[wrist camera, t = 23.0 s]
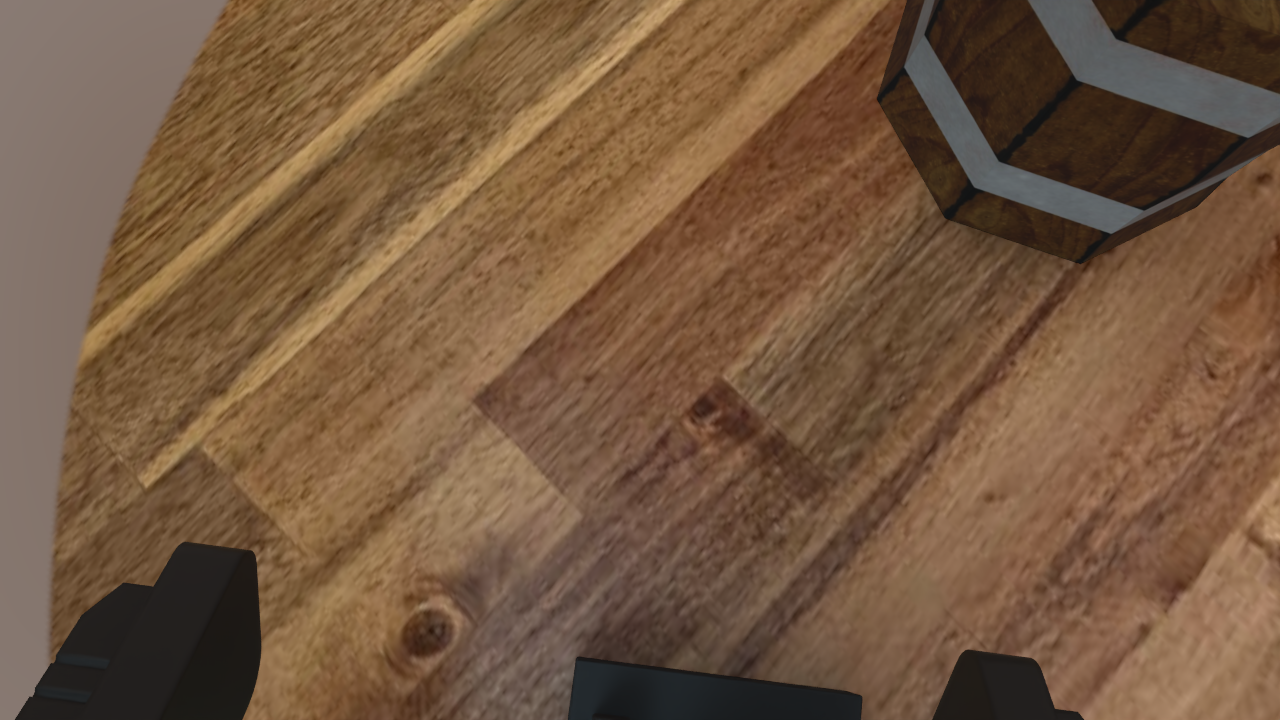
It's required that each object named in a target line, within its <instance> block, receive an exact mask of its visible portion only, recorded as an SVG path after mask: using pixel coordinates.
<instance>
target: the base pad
mask: <svg viewBox="0 0 1280 720" xmlns="http://www.w3.org/2000/svg"><path fill="white" fill-rule="evenodd" d="M861 710H862V696H861V695H858V694H854V693H851V692H847V691H842V690H834V689H826V688H818V687H810V686H803V685H795V684H787V683H779V682H772V681H764V680H756V679H748V678H740V677H733V676H725V675H717V674H709V673H701V672H694V671H686V670H678V669H670V668H662V667H655V666H647V665H639V664H631V663H623V662H616V661H608V660H600V659H592V658H584V657H577V658H576V663H575V670H574V678H573V685H572V692H571V700H570V707H569V715H568V720H861Z"/></svg>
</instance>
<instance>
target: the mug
mask: <svg viewBox="0 0 1280 720" xmlns="http://www.w3.org/2000/svg"><path fill="white" fill-rule="evenodd" d="M877 100H878V101H879V103H880V105H881V107H882V108H883V110H884V112H885V114H886V115H887V117H888V119H889V121H890V122H891V124H892V126H893V128H894V129H895V131H896V133H897V135H898V136H899V138H900V140H901V142H902V143H903V145H904V147H905V149H906V150H907V152H908V154H909V156H910V157H911V159H912V161H913V162H914V164H915V166H916V168H917V169H918V171H919V173H920V175H921V176H922V178H923V180H924V182H925V183H926V185H927V187H928V189H929V190H930V192H931V194H932V196H933V197H934V199H935V201H936V203H937V204H938V206H939V208H940V210H941V211H942V213H943V215H944V217H945V218H947V219H950V220H953V221H955V222H958V223H961V224H964V225H967V226H970V227H973V228H976V229H979V230H982V231H985V232H988V233H991V234H994V235H997V236H1000V237H1003V238H1006V239H1009V240H1012V241H1015V242H1017V243H1020V244H1023V245H1026V246H1029V247H1032V248H1035V249H1038V250H1041V251H1044V252H1047V253H1050V254H1053V255H1056V256H1059V257H1062V258H1065V259H1068V260H1071V261H1074V262H1076V263H1079V264H1081V263H1083V262H1085V261H1087V260H1089V259H1091V258H1093V257H1096V256H1098V255H1100V254H1102V253H1104V252H1106V251H1108V250H1110V249H1112V248H1114V247H1116V246H1118V245H1120V244H1122V243H1124V242H1126V241H1128V240H1130V239H1132V238H1134V237H1136V236H1138V235H1140V234H1142V233H1144V232H1146V231H1148V230H1150V229H1153V228H1155V227H1157V226H1159V225H1161V224H1163V223H1165V222H1167V221H1169V220H1171V219H1173V218H1175V217H1177V216H1179V215H1181V214H1183V213H1185V212H1187V211H1189V210H1191V209H1193V208H1195V207H1197V206H1198V205H1199V204H1200V203H1201V202H1202V201H1203V200H1204V199H1205V198H1207V197H1208V196H1209V195H1210V194H1211V193H1212V192H1213V191H1214V190H1215V189H1216V188H1217V187H1218V186H1219V185H1220V184H1221V183H1222V182H1223V181H1224V180H1225V179H1226V178H1227V177H1229V176H1230V175H1232V174H1233V173H1235V172H1236V171H1238V170H1239V169H1241V168H1242V167H1244V166H1245V165H1247V164H1248V163H1250V162H1251V161H1253V160H1254V159H1256V158H1257V157H1259V156H1260V155H1262V154H1263V153H1265V152H1266V151H1268V150H1270V149H1272V148H1274V147H1276V146H1278V145H1280V0H907V3H906V7H905V10H904V13H903V16H902V20H901V23H900V26H899V29H898V32H897V36H896V39H895V42H894V45H893V49H892V52H891V55H890V58H889V62H888V65H887V68H886V71H885V74H884V78H883V81H882V84H881V87H880V91H879V94H878V97H877Z"/></svg>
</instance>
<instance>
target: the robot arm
mask: <svg viewBox="0 0 1280 720" xmlns="http://www.w3.org/2000/svg"><path fill="white" fill-rule="evenodd" d="M260 658H261V630H260V612H259V595H258V577H257V562H256V557H255V554H254V552H253V551H250V550H243V549H236V548H228V547H221V546H213V545H206V544H198V543H191V542H183V543H182V544H180V545H179V546H178V547H177V548H176V550H175V551H174V553H173V554H172V556H171V558H170V559H169V561H168V563H167V565H166V566H165V568H164V570H163V571H162V573H161V575H160V577H159V578H158V580H157V582H156V583H155V585H154V587H152V586H145V585H137V584H130V583H123V584H121V585H120V586H119V587H117V588H116V589H115V590H114V591H112V592H111V593H110V594H108V595H107V596H106V597H105V598H103V599H102V600H101V601H99V602H98V603H97V604H95V605H94V606H93V607H92V608H90V609H89V610H88V611H86V612H85V613H84V614H83V615H82V616H81V617H80V619H79V620H78V622H77V623H76V625H75V627H74V628H73V630H72V631H71V633H70V634H69V636H68V638H67V639H66V641H65V642H64V644H63V645H62V647H61V648H60V650H59V652H58V653H57V655H56V660H55V662H54V663H51V664H50V666H49V667H48V669H47V670H46V672H45V673H44V675H43V677H42V678H41V680H40V681H39V683H38V685H37V686H36V687H35V693H34V695H33V697H29V698H28V700H27V701H26V703H25V705H24V706H23V708H22V709H21V711H20V713H19V714H18V716H17V717H16V719H15V720H242V719H243V717H244V714H245V712H246V710H247V707H248V705H249V703H250V700H251V697H252V694H253V691H254V688H255V684H256V680H257V676H258V671H259V665H260ZM932 720H1084V719H1083V718H1082V717H1081V715H1080V714H1079V713H1078V712H1073V711H1066V710H1058V709H1055V708H1054V705H1053V702H1052V699H1051V696H1050V693H1049V691H1048V688H1047V685H1046V682H1045V679H1044V676H1043V673H1042V671H1041V668H1040V666H1039V665H1038V663H1037V662H1036V661H1035V660H1034V659H1032V658H1027V657H1019V656H1012V655H1004V654H997V653H990V652H982V651H975V650H965V651H964V652H963V653H962V654H961V655H960V657H959V659H958V661H957V663H956V665H955V667H954V670H953V672H952V674H951V677H950V679H949V682H948V684H947V686H946V689H945V691H944V693H943V696H942V698H941V700H940V703H939V705H938V707H937V710H936V712H935V714H934V717H933V719H932Z"/></svg>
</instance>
